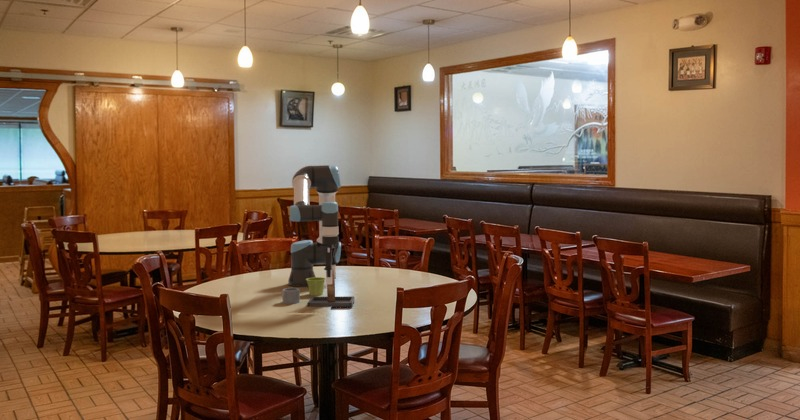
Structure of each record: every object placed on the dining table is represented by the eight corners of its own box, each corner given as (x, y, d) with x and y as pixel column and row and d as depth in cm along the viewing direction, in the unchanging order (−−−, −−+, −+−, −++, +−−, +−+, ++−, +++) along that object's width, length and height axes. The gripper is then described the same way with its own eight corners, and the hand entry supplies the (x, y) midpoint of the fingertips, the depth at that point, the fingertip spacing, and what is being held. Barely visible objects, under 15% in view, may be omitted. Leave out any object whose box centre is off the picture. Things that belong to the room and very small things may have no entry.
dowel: (328, 302, 314) (327, 267, 313) (335, 301, 314) (334, 267, 313) (327, 303, 310) (326, 269, 309) (334, 303, 310) (333, 269, 309)
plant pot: (307, 298, 327) (307, 281, 326) (305, 295, 336) (304, 277, 335) (327, 297, 329) (326, 280, 328) (324, 293, 338) (323, 276, 337)
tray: (312, 301, 319) (312, 296, 319) (354, 301, 319) (354, 296, 319) (307, 308, 305) (307, 303, 305) (351, 308, 305) (351, 302, 305)
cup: (284, 302, 318) (284, 287, 318) (300, 302, 318) (300, 287, 318) (281, 306, 311) (281, 291, 310) (298, 306, 311) (297, 291, 310)
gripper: (325, 232, 322) (326, 276, 324) (318, 238, 297) (319, 286, 299) (341, 232, 322) (342, 276, 324) (335, 238, 297) (336, 286, 299)
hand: (331, 281), depth 311 cm, fingers open, 13 cm apart
